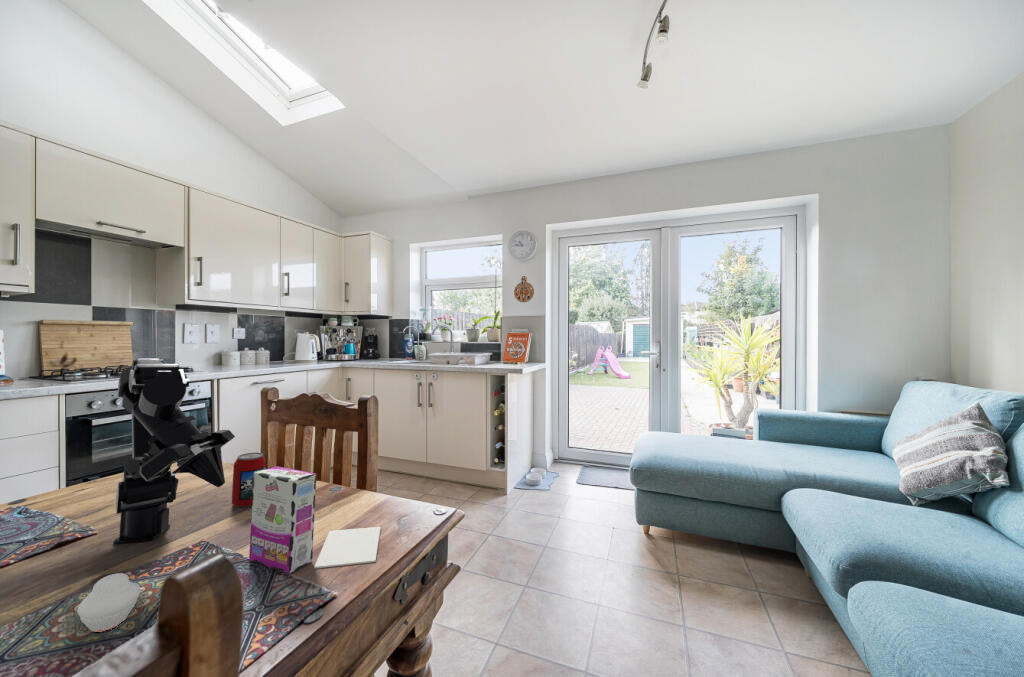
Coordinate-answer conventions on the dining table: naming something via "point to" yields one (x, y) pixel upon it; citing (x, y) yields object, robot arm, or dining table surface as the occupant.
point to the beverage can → (245, 477)
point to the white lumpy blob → (109, 602)
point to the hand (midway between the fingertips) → (221, 485)
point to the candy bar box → (282, 518)
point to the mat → (349, 547)
